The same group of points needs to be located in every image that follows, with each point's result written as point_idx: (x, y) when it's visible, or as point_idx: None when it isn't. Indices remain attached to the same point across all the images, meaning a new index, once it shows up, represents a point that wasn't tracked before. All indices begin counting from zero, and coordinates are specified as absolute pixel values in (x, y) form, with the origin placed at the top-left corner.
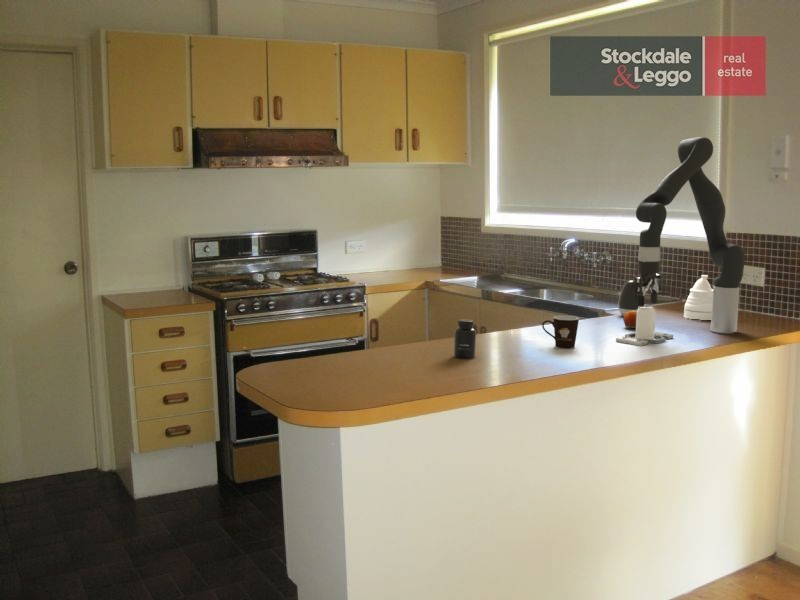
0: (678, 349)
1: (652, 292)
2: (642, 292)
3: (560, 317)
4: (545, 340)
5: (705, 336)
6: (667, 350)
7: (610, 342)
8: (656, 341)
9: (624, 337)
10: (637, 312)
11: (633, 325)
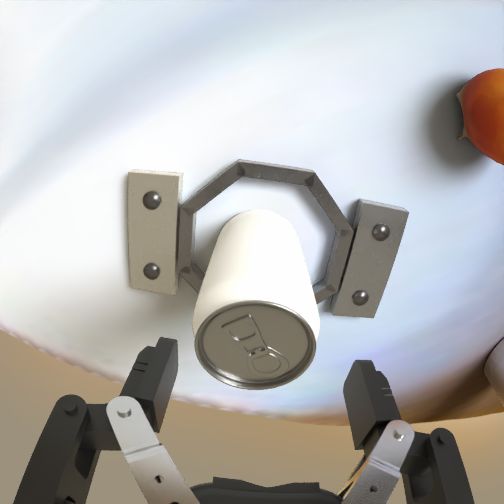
0: (185, 376)
1: (377, 430)
2: (121, 449)
3: None
4: (9, 6)
5: (439, 358)
6: None
7: (104, 162)
8: None
9: (156, 199)
10: (206, 288)
11: (464, 121)
